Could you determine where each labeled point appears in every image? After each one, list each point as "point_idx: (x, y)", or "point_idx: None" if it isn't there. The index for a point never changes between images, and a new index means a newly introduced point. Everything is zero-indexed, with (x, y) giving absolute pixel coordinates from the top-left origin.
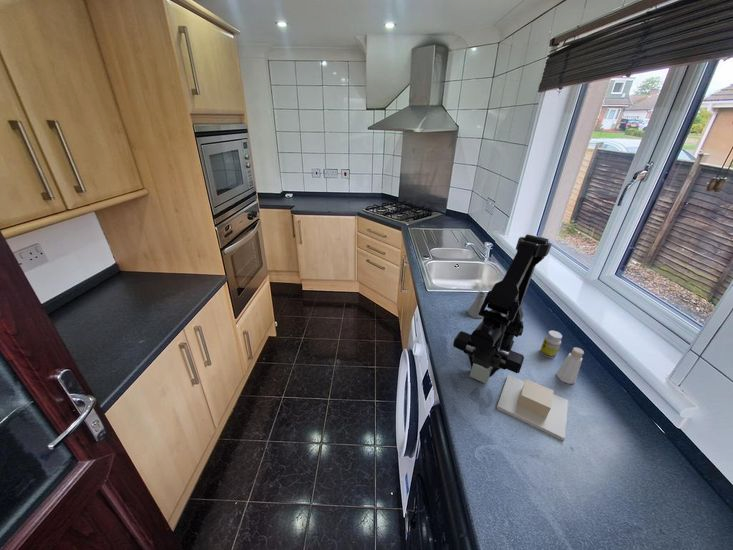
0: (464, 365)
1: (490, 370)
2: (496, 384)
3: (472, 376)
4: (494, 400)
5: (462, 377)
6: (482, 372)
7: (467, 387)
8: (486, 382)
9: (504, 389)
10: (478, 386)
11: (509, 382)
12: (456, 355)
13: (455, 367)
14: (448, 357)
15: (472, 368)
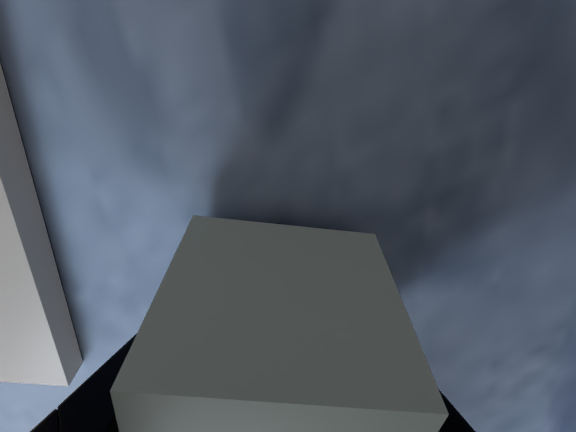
0: (419, 332)
1: (118, 409)
2: (121, 262)
3: (350, 240)
4: (40, 26)
5: (439, 196)
6: (252, 320)
7: (380, 73)
8: (192, 226)
9: (2, 226)
10: (264, 155)
11: (15, 323)
12: (482, 388)
13: (503, 282)
14: (556, 351)
15: (403, 327)
